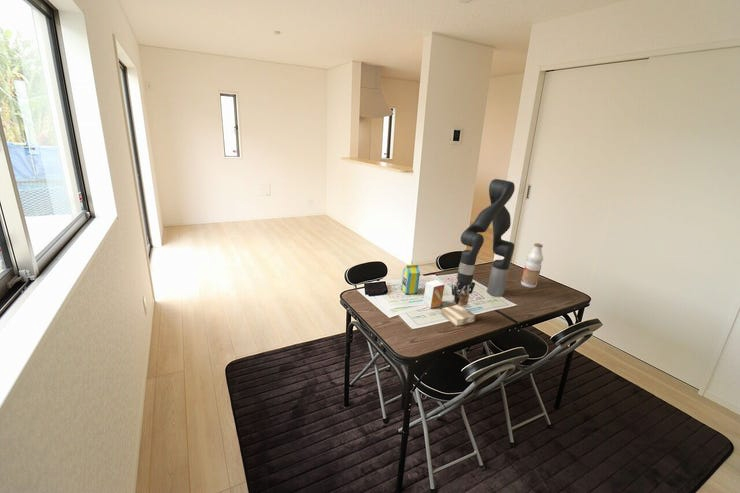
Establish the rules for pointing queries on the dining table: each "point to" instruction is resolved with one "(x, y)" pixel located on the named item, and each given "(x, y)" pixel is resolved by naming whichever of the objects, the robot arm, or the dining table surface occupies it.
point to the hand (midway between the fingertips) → (460, 302)
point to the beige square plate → (458, 315)
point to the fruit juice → (532, 267)
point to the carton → (410, 279)
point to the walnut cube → (462, 299)
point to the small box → (433, 294)
